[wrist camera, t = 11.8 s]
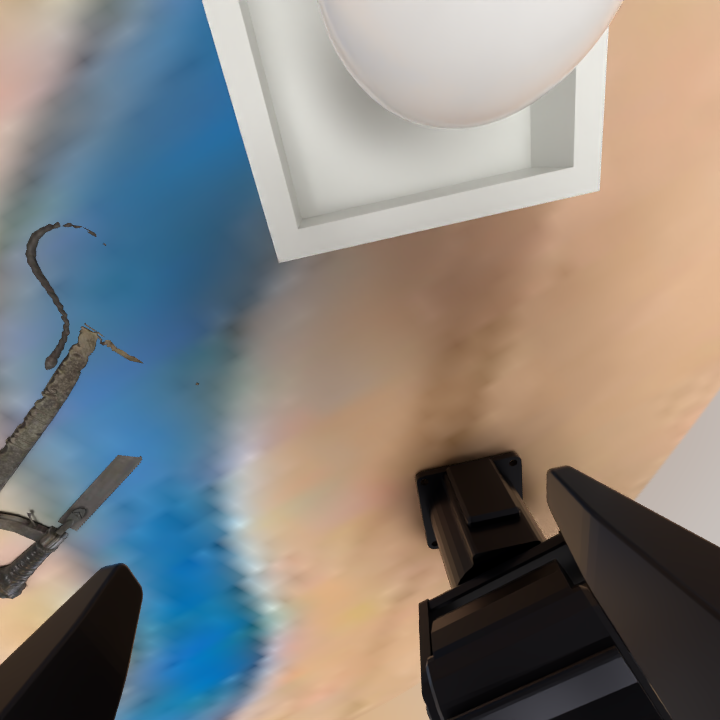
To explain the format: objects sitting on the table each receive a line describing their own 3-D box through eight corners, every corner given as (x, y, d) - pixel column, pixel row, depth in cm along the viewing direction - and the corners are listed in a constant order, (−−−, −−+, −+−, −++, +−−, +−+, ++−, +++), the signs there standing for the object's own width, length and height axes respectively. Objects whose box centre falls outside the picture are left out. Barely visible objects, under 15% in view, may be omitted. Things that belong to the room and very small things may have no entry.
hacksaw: (21, 589, 27) (5, 612, 26) (-159, 517, 23) (-189, 538, 22) (252, 348, 21) (248, 360, 20) (60, 198, 17) (39, 200, 16)
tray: (544, 186, 18) (599, 190, 15) (287, 244, 18) (278, 263, 15) (544, -209, 13) (630, -352, 9) (185, -123, 13) (134, -233, 10)
